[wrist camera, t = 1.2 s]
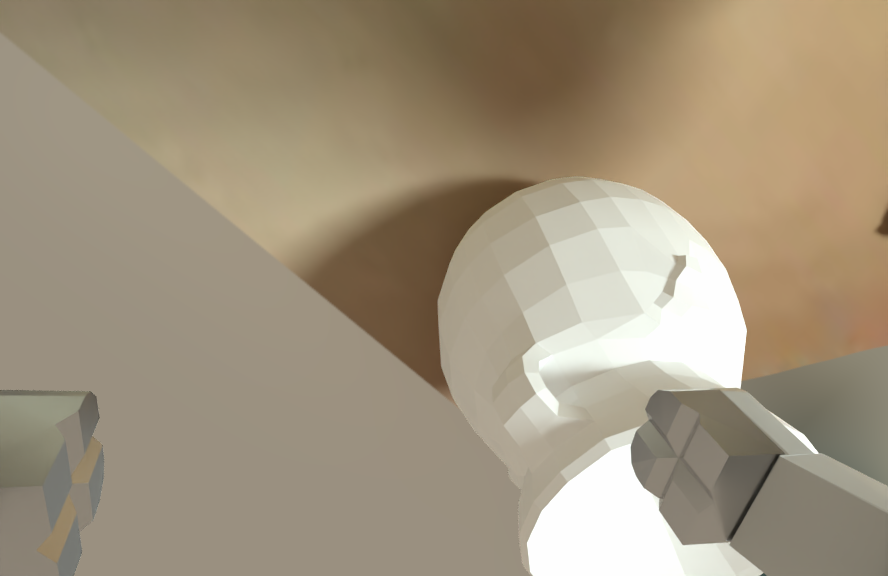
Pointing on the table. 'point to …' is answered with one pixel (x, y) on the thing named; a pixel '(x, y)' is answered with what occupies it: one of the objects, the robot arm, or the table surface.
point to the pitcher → (587, 365)
